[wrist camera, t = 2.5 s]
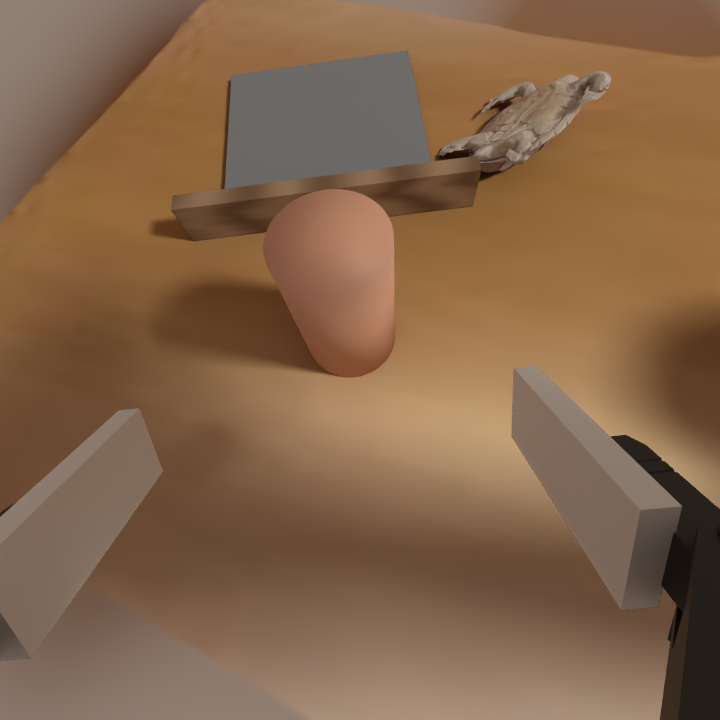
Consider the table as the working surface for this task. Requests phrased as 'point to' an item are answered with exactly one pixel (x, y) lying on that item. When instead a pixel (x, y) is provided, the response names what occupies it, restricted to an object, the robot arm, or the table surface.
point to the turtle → (529, 120)
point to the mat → (324, 120)
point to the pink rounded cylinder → (336, 277)
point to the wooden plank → (384, 186)
